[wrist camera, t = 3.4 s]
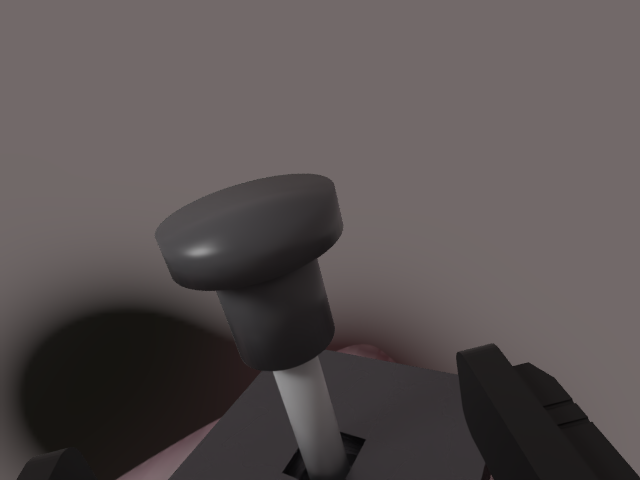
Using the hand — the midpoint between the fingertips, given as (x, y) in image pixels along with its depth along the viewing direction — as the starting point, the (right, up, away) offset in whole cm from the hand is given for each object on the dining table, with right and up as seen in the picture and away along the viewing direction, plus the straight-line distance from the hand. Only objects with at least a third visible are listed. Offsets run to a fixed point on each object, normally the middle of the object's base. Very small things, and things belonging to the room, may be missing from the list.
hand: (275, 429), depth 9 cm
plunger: (+1, -5, +8) cm, 10 cm away
